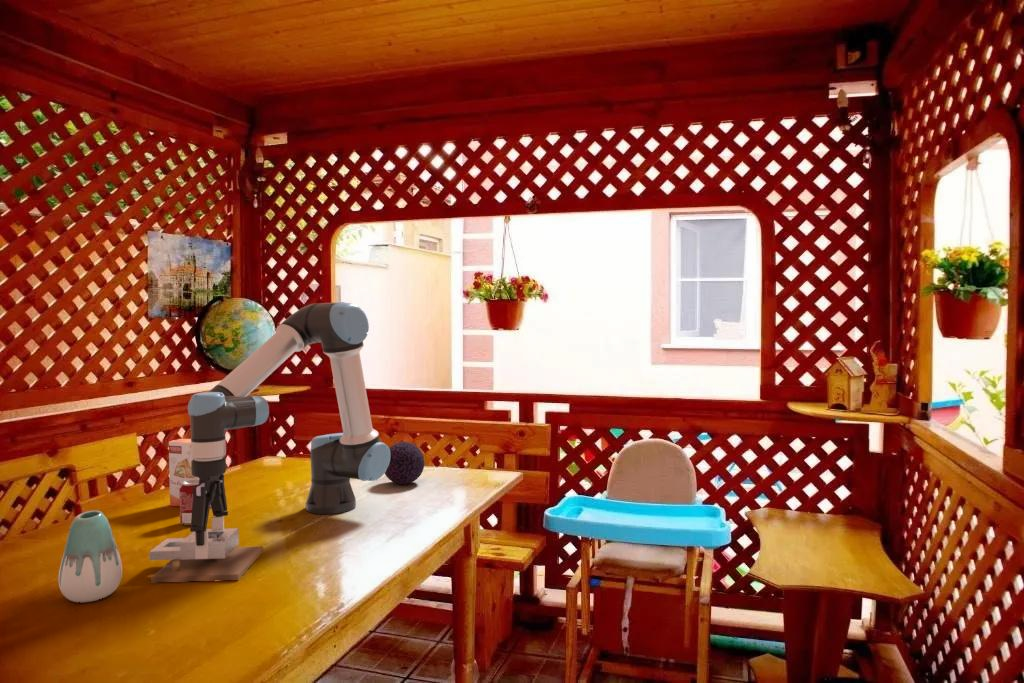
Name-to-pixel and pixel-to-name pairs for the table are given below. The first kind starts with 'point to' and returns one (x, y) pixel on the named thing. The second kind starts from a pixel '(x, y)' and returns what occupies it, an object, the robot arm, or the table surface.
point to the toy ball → (405, 463)
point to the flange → (186, 546)
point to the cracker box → (179, 467)
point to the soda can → (186, 501)
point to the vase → (90, 559)
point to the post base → (209, 567)
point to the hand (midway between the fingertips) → (210, 550)
